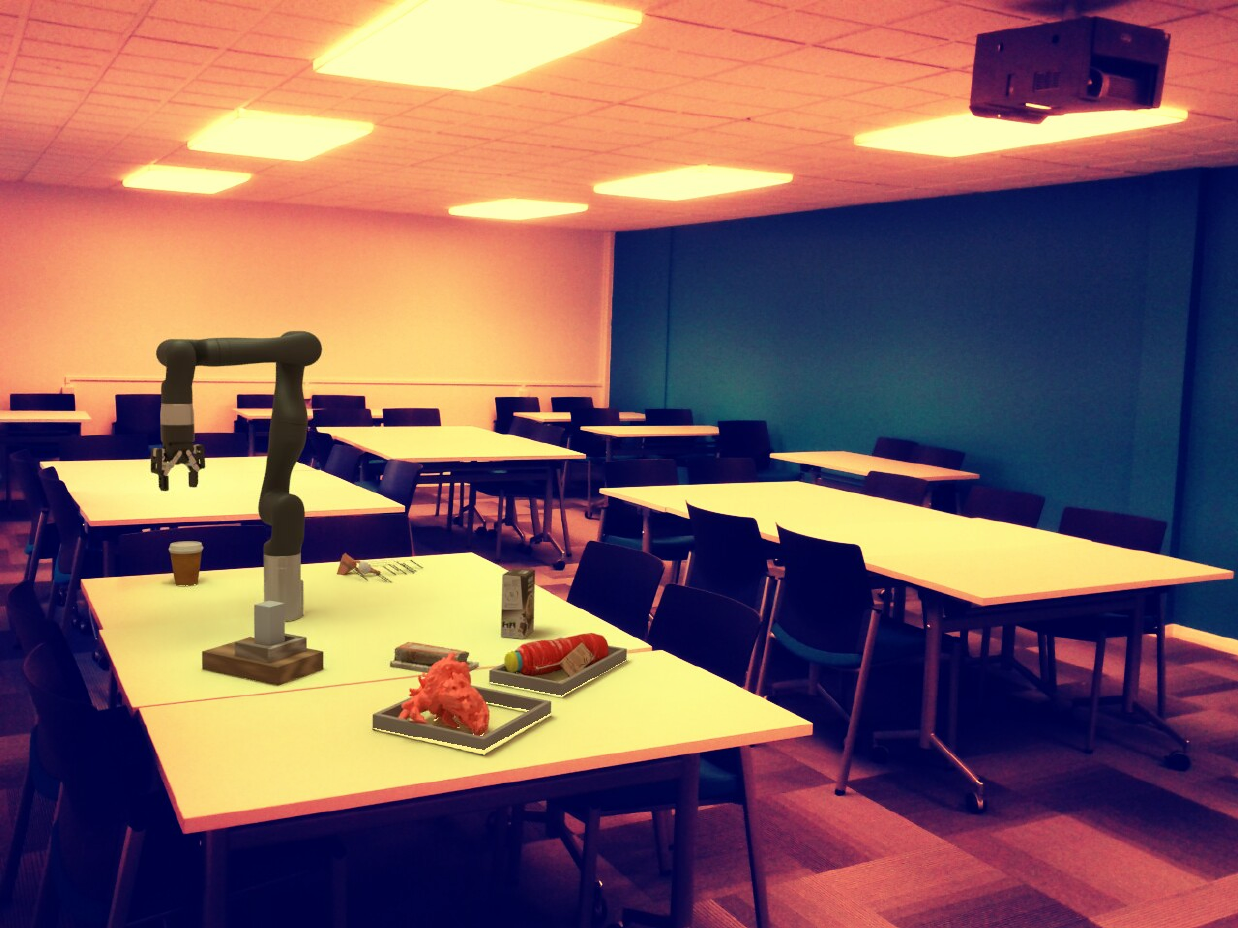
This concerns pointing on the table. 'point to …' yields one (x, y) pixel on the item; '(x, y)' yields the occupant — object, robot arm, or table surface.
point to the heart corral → (392, 723)
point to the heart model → (448, 697)
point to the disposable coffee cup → (186, 561)
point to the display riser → (264, 660)
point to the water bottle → (557, 655)
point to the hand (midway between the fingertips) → (179, 489)
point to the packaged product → (425, 656)
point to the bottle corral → (554, 687)
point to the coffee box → (517, 603)
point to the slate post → (269, 623)
